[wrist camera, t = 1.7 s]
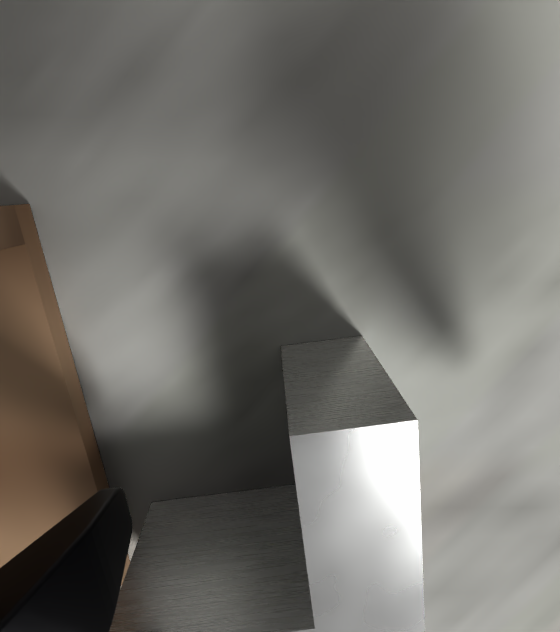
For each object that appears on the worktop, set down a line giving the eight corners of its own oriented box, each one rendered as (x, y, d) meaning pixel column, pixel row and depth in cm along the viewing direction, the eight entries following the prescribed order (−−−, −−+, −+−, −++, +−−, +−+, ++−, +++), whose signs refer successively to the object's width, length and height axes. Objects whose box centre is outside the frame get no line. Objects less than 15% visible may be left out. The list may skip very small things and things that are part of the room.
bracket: (376, 534, 12) (427, 691, 8) (166, 560, 12) (121, 730, 8) (362, 335, 11) (417, 420, 7) (118, 366, 11) (33, 468, 7)
